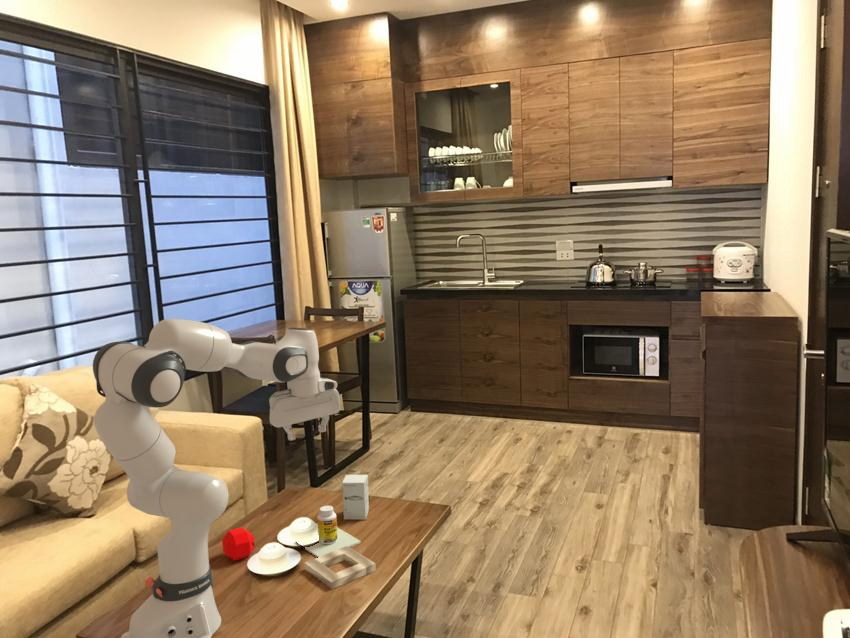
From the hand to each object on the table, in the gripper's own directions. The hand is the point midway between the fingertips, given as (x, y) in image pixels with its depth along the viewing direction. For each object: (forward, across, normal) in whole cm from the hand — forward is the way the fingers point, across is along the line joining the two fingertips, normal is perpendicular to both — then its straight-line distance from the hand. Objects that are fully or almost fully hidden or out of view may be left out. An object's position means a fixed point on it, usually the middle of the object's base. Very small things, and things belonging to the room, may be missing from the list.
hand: (307, 435), depth 186 cm
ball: (+37, -14, +19) cm, 44 cm away
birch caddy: (+37, +3, -8) cm, 38 cm away
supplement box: (+37, +26, +18) cm, 49 cm away
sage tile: (+37, +9, +8) cm, 39 cm away
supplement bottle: (+37, +9, +8) cm, 39 cm away
